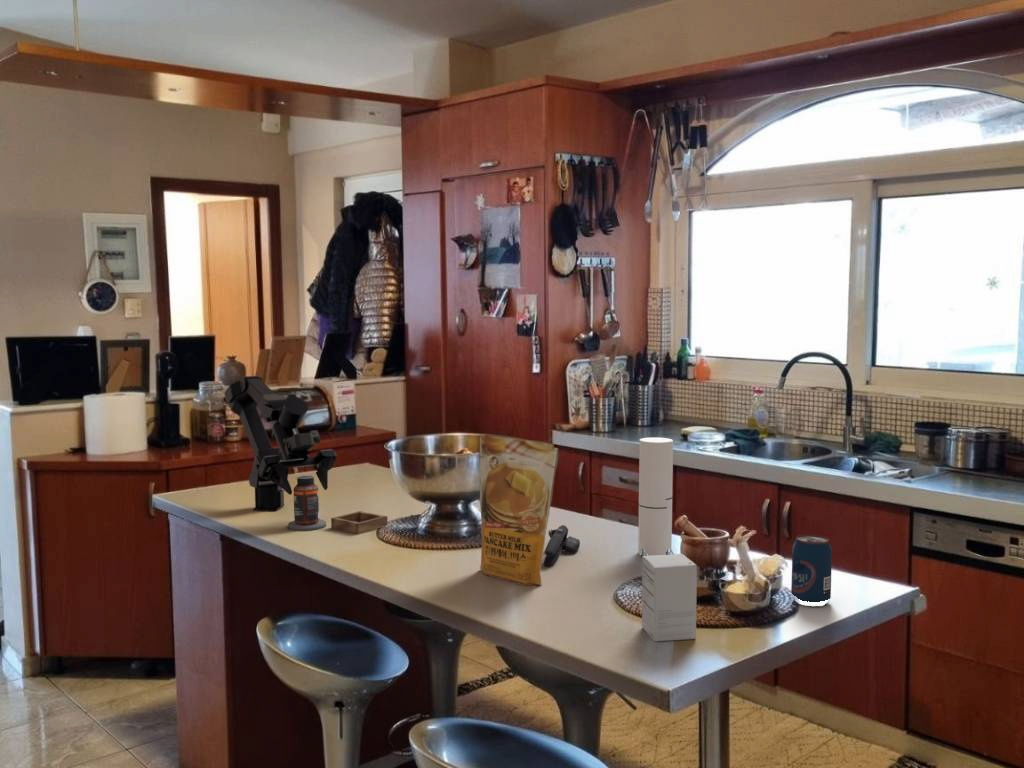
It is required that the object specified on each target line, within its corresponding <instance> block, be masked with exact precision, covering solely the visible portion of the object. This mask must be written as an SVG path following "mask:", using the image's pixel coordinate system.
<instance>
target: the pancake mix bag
mask: <svg viewBox="0 0 1024 768" xmlns="http://www.w3.org/2000/svg"><path fill="white" fill-rule="evenodd" d="M478 445H479V507H480V522H481V527H480V528H481V529H480V530H481V551H480V552H481V553H480V555H481V556H480V564H479V565H480V566H479V570H481V571H482V572H483V574H484V575H486V576H489V577H493V578H496V579H499V580H503V581H508V582H512V583H514V584H518V585H523V586H532V585H537V586H542V585H543V584H542V577H541V572H540V570H541V565H542V560H543V559H542V558H543V553H544V551H545V550H544V549H545V542H546V534H547V527H548V524H549V523H548V522H549V517H550V512H551V511H550V508H551V505H552V501H553V495H554V494H553V493H554V487H555V486H554V485H555V477H556V472H557V469H558V468H557V467H558V464H559V458H560V457H559V456H560V455H559V448H558V447H556V446H555V445H554V443H552V442H548V441H543V440H542V441H541V440H534V439H533V440H532V439H531V440H530V439H526V438H525V439H524V438H521V437H514V436H508V435H507V436H505V435H497V434H496V435H495V434H483V435H481V436H478Z"/></svg>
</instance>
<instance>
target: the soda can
mask: <svg viewBox="0 0 1024 768" xmlns="http://www.w3.org/2000/svg"><path fill="white" fill-rule="evenodd" d="M791 557H792V558H791V589H790V591H791V592H790V594H791V593H792V594H793V595H794V596H796V597H797V598H798V599H800V600H802V601H807V602H808V601H809V602H820V601H825V600H828V599H830V600H831V598H832V593H831V592H832V565H833V564H832V562H833V561H832V560H833V559H832V557H833V548H832V546H831V544H830V539H829V538H828V537H826V536H822V535H818V534H799V535H797V536H796V537H795V541H794V543H793V545H792V552H791Z"/></svg>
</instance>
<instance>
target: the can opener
mask: <svg viewBox="0 0 1024 768" xmlns="http://www.w3.org/2000/svg"><path fill="white" fill-rule="evenodd" d="M568 533H569V528H568V527H567V526H566V525H564V524H562V525H560V526H558V527H557V529H551V530H550V529H548V536H549V538H550V539H549V540H548V542H547V544H546V547H545V548H544V549H545V550H544V554H545V557H544V559H543V562H542V563H543V565H544V566H545V567H548V568H550V567H553V566H554V565H555V564H556V562H557V560H558V559H559V556H560V555H561V552H562V551H563V553H564V554H576V553H577V552H578V551H579V549H580V545H581V541H580V539H579V538H576V537H573V536H571V535H569V536H568Z"/></svg>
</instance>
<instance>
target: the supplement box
mask: <svg viewBox="0 0 1024 768" xmlns="http://www.w3.org/2000/svg"><path fill="white" fill-rule="evenodd" d="M641 557H642V559H641V561H642V563H641V564H642V565H641V567H642V568H641V569H642V570H641V571H642V573H641V575H642V580H641V581H642V586H641V588H642V589H641V591H642V593H641V594H642V595H641V596H642V597H641V627H642V628H643V630H644V631H645V632H646V633H647V635H648V636H650V638H651V639H652V640H653V641H654V643H657V642H665V641H681V640H683V641H684V640H696V638H697V583H698V582H697V580H698V578H697V577H698V575H697V573H698V571H697V570H698V566H697V564H696V563H694V561H692V560H691V559H689V558H688V557H687V556H685V555H684V554H683V553H675V554H674V553H673V554H672V553H671V554H670V555H651V556H641Z"/></svg>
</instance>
